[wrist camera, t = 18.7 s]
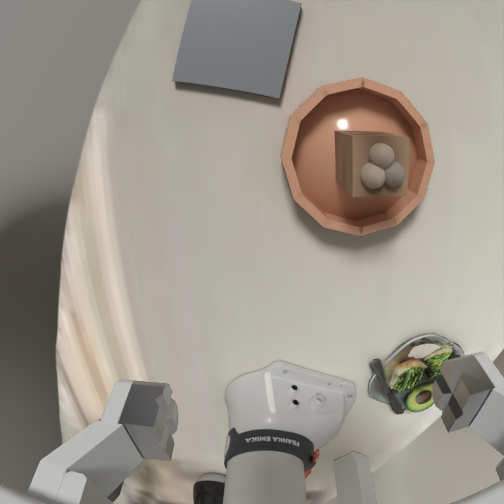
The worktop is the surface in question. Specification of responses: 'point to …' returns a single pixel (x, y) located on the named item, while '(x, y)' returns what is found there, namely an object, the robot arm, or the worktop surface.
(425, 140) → the bowl
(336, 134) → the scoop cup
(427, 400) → the salad plate
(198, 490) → the black egg-shaped dome
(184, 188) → the worktop surface
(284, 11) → the parts tray
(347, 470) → the milk
